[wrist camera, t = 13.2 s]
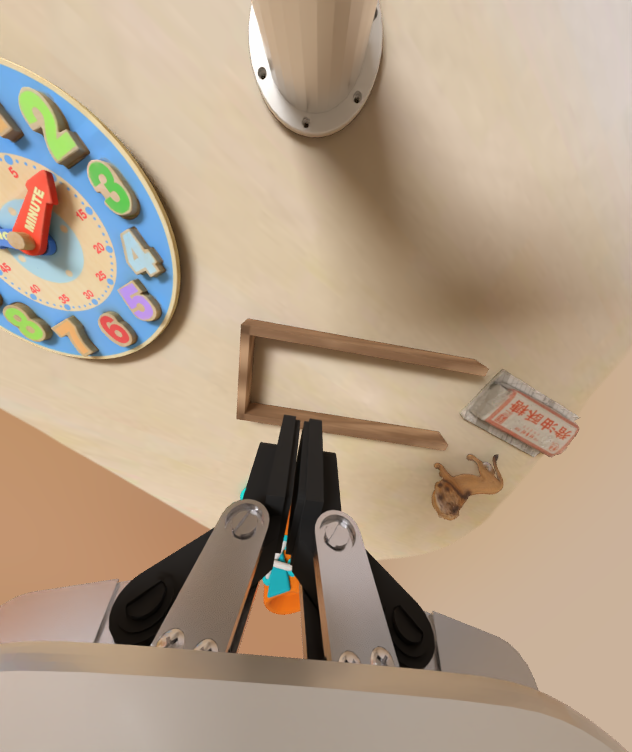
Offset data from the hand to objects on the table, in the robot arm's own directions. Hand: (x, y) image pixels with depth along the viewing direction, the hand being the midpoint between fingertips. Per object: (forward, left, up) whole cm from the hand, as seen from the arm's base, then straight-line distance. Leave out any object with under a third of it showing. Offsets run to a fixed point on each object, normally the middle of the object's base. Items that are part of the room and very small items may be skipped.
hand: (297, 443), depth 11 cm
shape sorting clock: (-3, -33, -28) cm, 43 cm away
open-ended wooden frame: (+10, +9, -27) cm, 30 cm away
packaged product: (+11, +38, -28) cm, 48 cm away
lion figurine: (+24, +33, -27) cm, 49 cm away
